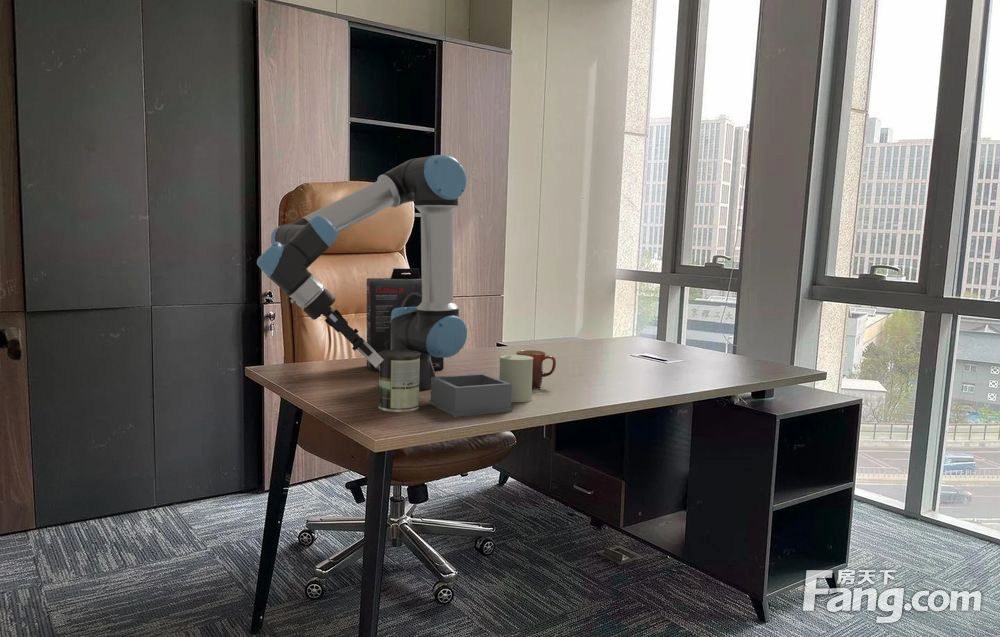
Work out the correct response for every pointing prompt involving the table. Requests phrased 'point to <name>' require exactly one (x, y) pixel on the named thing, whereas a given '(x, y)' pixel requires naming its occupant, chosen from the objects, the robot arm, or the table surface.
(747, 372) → the table surface
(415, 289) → the headset box
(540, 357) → the mug
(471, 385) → the box
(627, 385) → the table surface
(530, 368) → the can
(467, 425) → the table surface
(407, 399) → the coffee can
